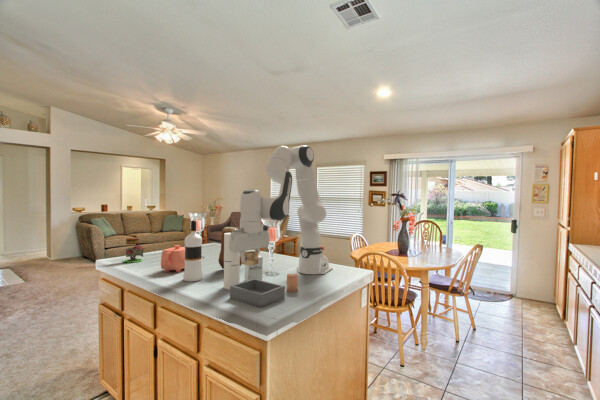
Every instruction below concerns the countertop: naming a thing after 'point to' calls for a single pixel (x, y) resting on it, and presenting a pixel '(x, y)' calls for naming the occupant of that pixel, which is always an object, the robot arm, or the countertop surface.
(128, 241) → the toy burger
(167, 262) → the teapot
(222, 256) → the butternut squash
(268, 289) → the tote
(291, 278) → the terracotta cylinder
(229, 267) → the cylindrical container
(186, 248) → the vodka
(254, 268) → the supplement box
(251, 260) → the oak cube
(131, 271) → the countertop surface
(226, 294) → the countertop surface
